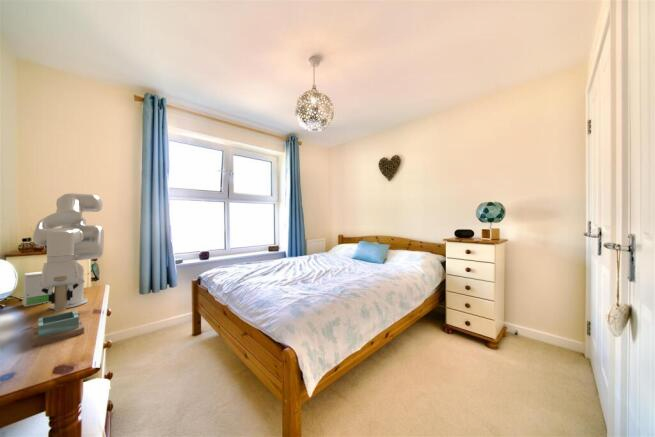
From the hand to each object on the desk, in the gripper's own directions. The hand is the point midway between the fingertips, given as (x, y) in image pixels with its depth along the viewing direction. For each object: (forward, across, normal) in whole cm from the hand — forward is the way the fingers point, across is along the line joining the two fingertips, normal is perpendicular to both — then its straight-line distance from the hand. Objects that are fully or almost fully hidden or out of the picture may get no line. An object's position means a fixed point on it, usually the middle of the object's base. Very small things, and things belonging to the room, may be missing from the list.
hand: (60, 300), depth 97 cm
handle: (+4, 0, 0) cm, 4 cm away
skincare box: (+10, +6, -37) cm, 39 cm away
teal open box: (+8, +1, +16) cm, 18 cm away
